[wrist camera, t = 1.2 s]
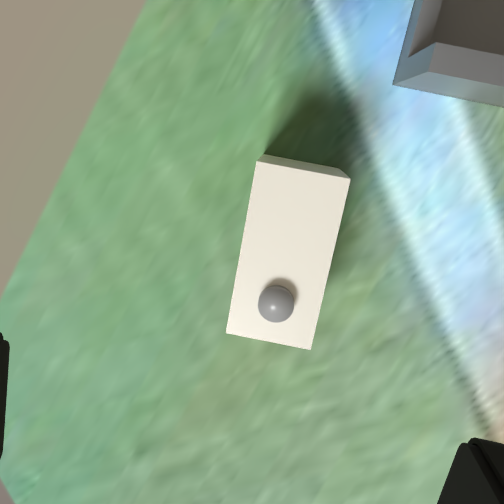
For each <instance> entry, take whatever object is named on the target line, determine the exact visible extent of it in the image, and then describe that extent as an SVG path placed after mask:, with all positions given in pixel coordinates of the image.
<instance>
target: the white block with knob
mask: <svg viewBox="0 0 504 504" xmlns="http://www.w3.org/2000/svg"><path fill="white" fill-rule="evenodd" d="M350 180H351V179H350V178H349V177H348V176H347V175H346V174H345V173H344V172H343V171H342V170H341V169H339V168H335V167H329V166H324V165H319V164H314V163H308V162H303V161H298V160H292V159H287V158H282V157H276V156H271V155H266V154H263V155H262V156H261V157H260V158H259V159H258V160H257V162H256V167H255V173H254V178H253V184H252V190H251V195H250V201H249V206H248V212H247V217H246V223H245V229H244V234H243V240H242V245H241V251H240V256H239V262H238V268H237V273H236V279H235V284H234V290H233V295H232V301H231V307H230V312H229V318H228V323H227V329H226V333H229V334H234V335H239V336H244V337H249V338H254V339H259V340H264V341H269V342H274V343H279V344H284V345H289V346H294V347H299V348H304V349H309V350H311V345H312V341H313V337H314V333H315V328H316V324H317V320H318V316H319V311H320V307H321V303H322V299H323V294H324V290H325V286H326V282H327V278H328V273H329V269H330V265H331V261H332V256H333V252H334V248H335V244H336V239H337V235H338V231H339V227H340V222H341V218H342V214H343V210H344V205H345V201H346V197H347V193H348V188H349V184H350Z"/></svg>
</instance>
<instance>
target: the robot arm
mask: <svg viewBox="0 0 504 504" xmlns="http://www.w3.org/2000/svg"><path fill="white" fill-rule="evenodd" d="M9 350H10V347H9V342H8V341H6V340H3V335H2V333H0V458H1V455H2V452H3V441H4V426H5V411H6V396H7V380H8V365H9ZM437 504H504V444H501V443H497V442H493V441H488V440H484V439H479V438H471V439H470V440H469V442H468V443H462V444H461V445H460V446H459V448H458V450H457V452H456V455H455V458H454V460H453V463H452V466H451V468H450V471H449V474H448V476H447V479H446V481H445V484H444V487H443V489H442V492H441V495H440V497H439V500H438V503H437Z"/></svg>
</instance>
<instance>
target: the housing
mask: <svg viewBox="0 0 504 504" xmlns="http://www.w3.org/2000/svg"><path fill="white" fill-rule="evenodd" d="M392 85H395V86H400V87H405V88H410V89H415V90H420V91H425V92H429V93H434V94H439V95H444V96H449V97H454V98H459V99H464V100H469V101H474V102H479V103H484V104H489V105H494V106H499V107H504V0H415V1H414V5H413V8H412V12H411V16H410V20H409V24H408V27H407V31H406V35H405V39H404V43H403V46H402V50H401V54H400V58H399V62H398V65H397V69H396V73H395V77H394V80H393V84H392Z"/></svg>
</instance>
